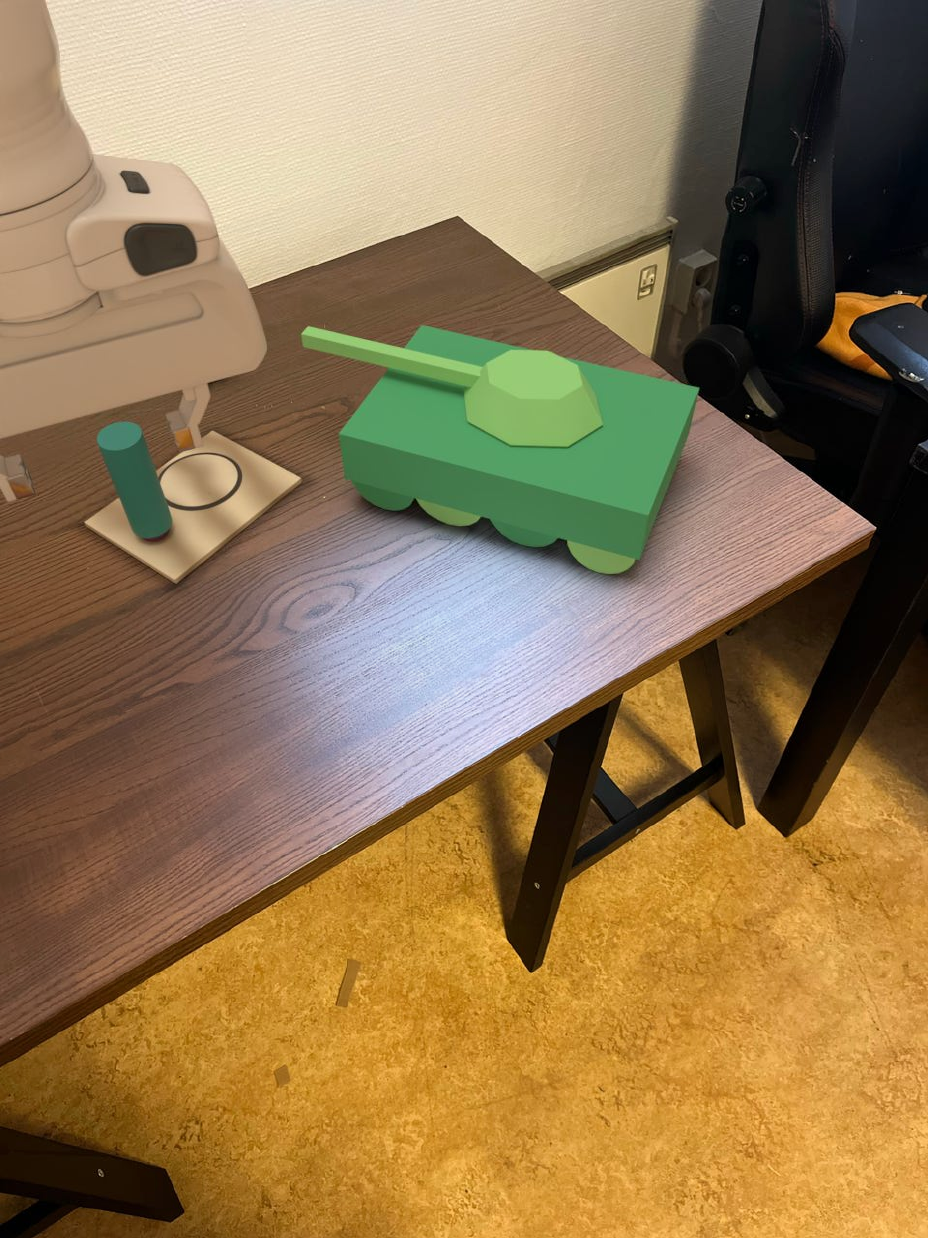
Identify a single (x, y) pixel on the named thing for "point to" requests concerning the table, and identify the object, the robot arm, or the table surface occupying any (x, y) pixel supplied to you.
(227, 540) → the board
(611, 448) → the toy tank
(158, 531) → the dot marker
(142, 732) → the table surface
